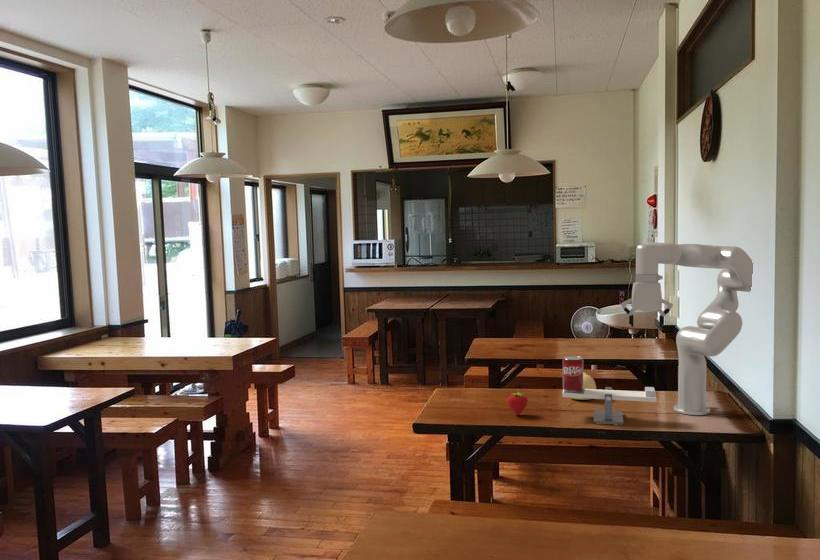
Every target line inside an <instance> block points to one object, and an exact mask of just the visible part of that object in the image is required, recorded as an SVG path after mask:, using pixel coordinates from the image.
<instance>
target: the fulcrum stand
mask: <svg viewBox="0 0 820 560" xmlns="http://www.w3.org/2000/svg"><path fill="white" fill-rule="evenodd" d="M604 388H605V389H604V390H613V387H611V386H605V387H604ZM594 423H602V424H601V425H604V424H617V425H616V426H619V425H623V426H624V412H623V411H619V410H613V400H612V394H605V399H604V409H603V410H602V409H594V411H593V424H594Z"/></svg>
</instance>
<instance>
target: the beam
mask: <svg viewBox="0 0 820 560" xmlns="http://www.w3.org/2000/svg"><path fill="white" fill-rule="evenodd" d="M605 394H612V401H614V400H615V401H628V402H629V401H631V402H632V401H633V402H646V403H649V402H650V403H657V402H658V401H657V400H658V399H657V394H656V390H655V387H654V386H645V387H644V391H640V390H639V391H638V390H621V389H619V390H618V389H616V390H615V389H612V390H605V389H600V388H599V389H597V388H596V389H585V388H583V390H582V391H581V392H567V391H565V390H564V389H563V388H562V393H561V397H562V398H570V397H571V398H570V399H572V398H590V399H589V400H592V399H593V400H605Z"/></svg>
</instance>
